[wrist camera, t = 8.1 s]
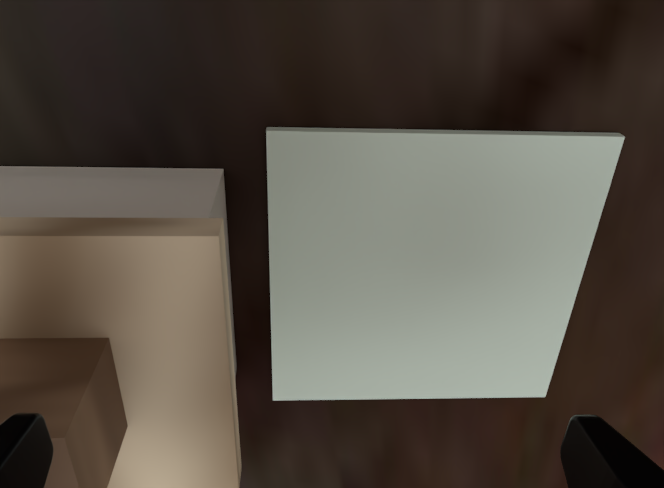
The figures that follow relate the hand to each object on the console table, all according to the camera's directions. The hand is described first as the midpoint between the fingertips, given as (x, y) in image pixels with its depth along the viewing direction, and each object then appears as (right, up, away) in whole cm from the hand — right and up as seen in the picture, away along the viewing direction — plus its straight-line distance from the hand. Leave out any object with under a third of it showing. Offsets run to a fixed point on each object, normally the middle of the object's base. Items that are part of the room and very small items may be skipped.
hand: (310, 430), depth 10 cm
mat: (+4, +2, +12) cm, 13 cm away
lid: (-8, 0, +8) cm, 11 cm away
